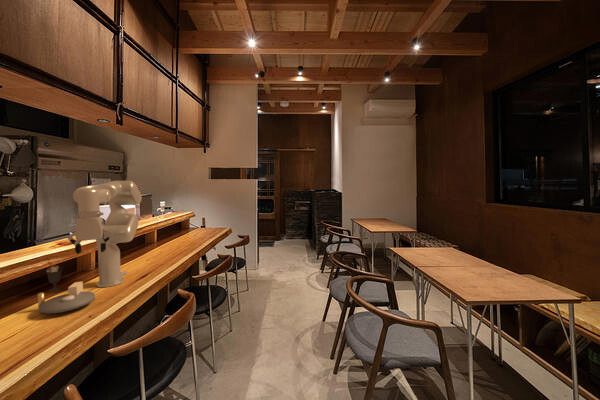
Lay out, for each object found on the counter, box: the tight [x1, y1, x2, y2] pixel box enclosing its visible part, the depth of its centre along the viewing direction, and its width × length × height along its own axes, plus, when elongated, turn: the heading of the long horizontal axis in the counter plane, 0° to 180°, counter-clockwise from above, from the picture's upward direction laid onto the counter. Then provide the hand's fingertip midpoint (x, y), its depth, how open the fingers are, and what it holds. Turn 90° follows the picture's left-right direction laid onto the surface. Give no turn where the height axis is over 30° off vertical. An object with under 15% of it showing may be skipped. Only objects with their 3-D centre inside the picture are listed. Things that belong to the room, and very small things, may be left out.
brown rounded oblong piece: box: [37, 292, 75, 313], centre depth 112 cm, size 8×15×7 cm, turn 83°
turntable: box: [38, 281, 96, 314], centre depth 112 cm, size 20×18×6 cm
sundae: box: [44, 261, 64, 293], centre depth 130 cm, size 7×7×15 cm
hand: (91, 252), depth 119 cm, fingers open, 8 cm apart
